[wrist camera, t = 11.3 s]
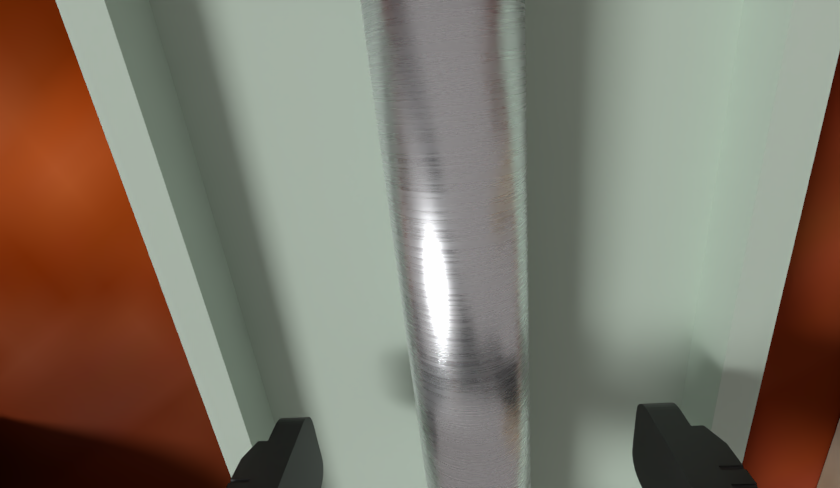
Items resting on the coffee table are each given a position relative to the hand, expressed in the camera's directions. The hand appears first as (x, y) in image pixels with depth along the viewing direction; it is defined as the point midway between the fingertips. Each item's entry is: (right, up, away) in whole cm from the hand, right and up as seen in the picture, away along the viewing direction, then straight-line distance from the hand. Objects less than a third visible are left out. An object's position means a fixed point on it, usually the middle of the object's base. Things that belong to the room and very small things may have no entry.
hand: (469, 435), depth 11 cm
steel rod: (0, 0, +1) cm, 1 cm away
